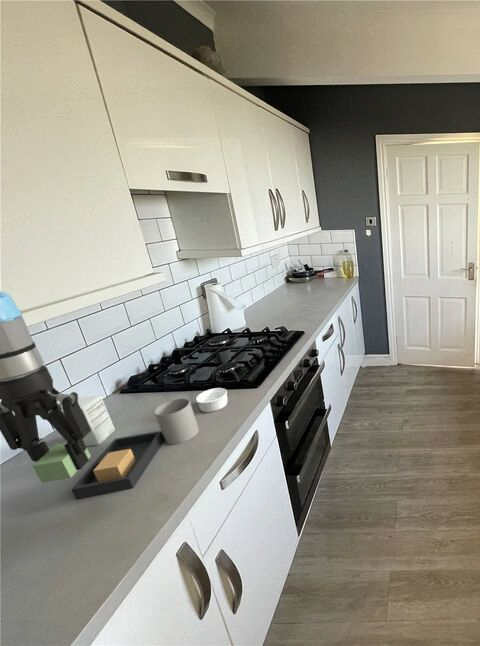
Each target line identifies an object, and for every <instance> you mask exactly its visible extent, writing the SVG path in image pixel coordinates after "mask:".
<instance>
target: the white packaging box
mask: <svg viewBox="0 0 480 646" xmlns="http://www.w3.org/2000/svg"><path fill="white" fill-rule="evenodd" d="M78 404H79V406H80V408H81V410H82V412H83V414H84V416H85V418H86V420H87V422H88V424H89V426H90V429H91V431H90V432H89V433H88V434H87V435H86V436H85V437H84V438H83V441H84V443H85V445H86V447H90V446H99V445H101V444H102V443H103V442H104V441H105V440H106V439H107V438H108V437H110V435H111V434H112V433H114V431H116V429H115V426H114V424H113V421H112V418H111V416H110V413H109V411H108V410H107V406H106V404H105V401H104V399H103V397H102V395H99V394H98V395H90V396H80V397H79V396H78ZM61 407H62V406H61ZM62 412H63V409H62ZM63 413H64V412H63Z"/></svg>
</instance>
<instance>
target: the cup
mask: <svg viewBox="0 0 480 646" xmlns="http://www.w3.org/2000/svg"><path fill="white" fill-rule="evenodd" d="M153 413H154V415H155V419H156V421H157V424H158V427H159V429H160V431H161V432H162V434H163V437H164V442H165V443H166V444H167V445H178V444H179V445H180V444H182V443H185V442H187V441H190V440H191V439H192V438H194V437H196V436H197V434H198V433H199V430H200V428H199V424H198V422H197V419H196V416H195V413H194V410H193V407H192V404H191V400H189V399H188V398H176V399H175V398H174V399H171V400H169V401H166V402H164V403H162V404H160V405H159V406H157V407H156V408H155V409H154V412H153Z"/></svg>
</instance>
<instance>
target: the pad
mask: <svg viewBox="0 0 480 646" xmlns="http://www.w3.org/2000/svg"><path fill="white" fill-rule="evenodd" d="M66 443H67V442H62V443H56V444H55V445H54V446H53V447H51V448H49V451H48V452H47V453H46V454H45V455H44V456H43V457H42V458H40V459H39V460H38V461H37V462H34V464H32V468H33V470H34V471H35V473H36V475H37V476H38V478H39V481H40V482H41V483H42V484H43V483H44V484H45V483H48V482H55V481H60V480H65V479H71V478H72V477H73V476H74V475H75V474H76V473H77V472H78V471H79V470H77V469H76V467H75V465H74V464H73V462H72V460H71V458H70V456H69V454H68V452H67V450H66V448H65V446H64V445H65V444H66ZM85 453H86V455H87V457H88V460H89V459H90V458H91V457H92V456H91V453H90V452H89V449H88V446H86V450H85Z"/></svg>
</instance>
